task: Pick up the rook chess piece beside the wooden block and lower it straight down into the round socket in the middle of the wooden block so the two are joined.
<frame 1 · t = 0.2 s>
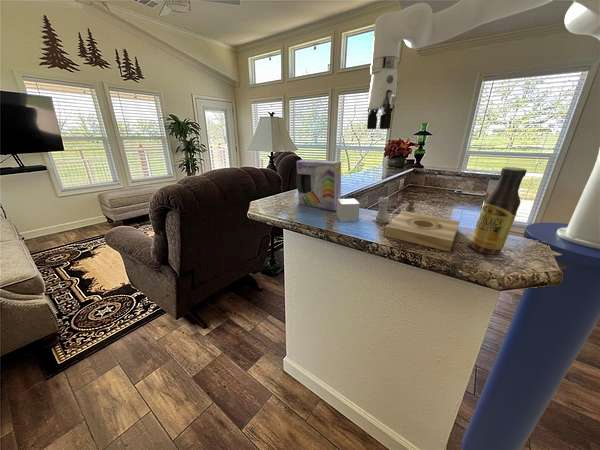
hand: (377, 129, 77), 28 cm above the countertop, tool pointing down, fingers open, 9 cm apart
wooden block: (421, 233, 68), on the countertop
sauce bottle: (485, 250, 58), on the countertop
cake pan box: (317, 206, 94), on the countertop
rook chess piece: (381, 221, 77), on the countertop
white cube: (347, 218, 80), on the countertop
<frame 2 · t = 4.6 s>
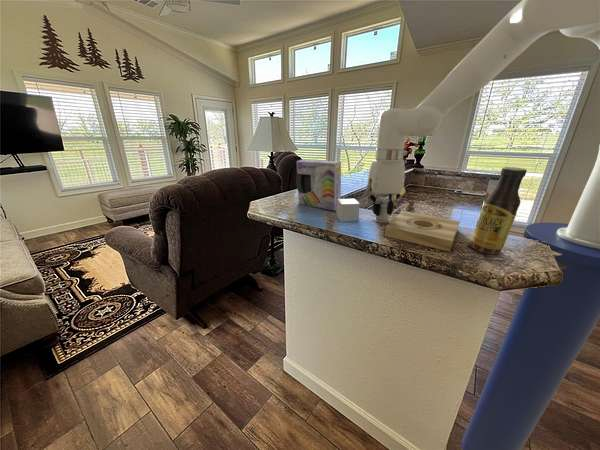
hand: (382, 213, 76), 3 cm above the countertop, tool pointing down, fingers closed on rook chess piece, 3 cm apart
rook chess piece: (381, 221, 77), on the countertop, touching gripper
everything else where it was.
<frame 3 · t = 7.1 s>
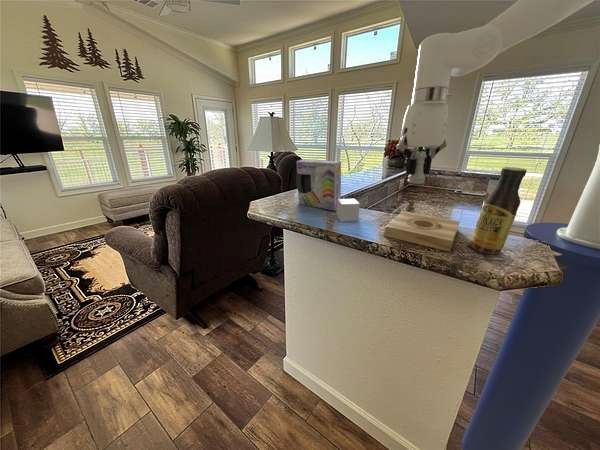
hand: (417, 172, 64), 17 cm above the countertop, tool pointing down, fingers closed on rook chess piece, 3 cm apart
rook chess piece: (415, 183, 65), point 14 cm above the countertop, touching gripper
everything else where it was.
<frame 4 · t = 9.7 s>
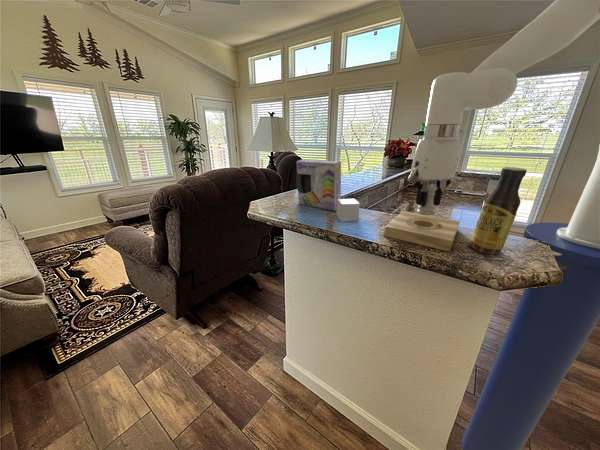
hand: (427, 203, 64), 9 cm above the countertop, tool pointing down, fingers closed on rook chess piece, 3 cm apart
rook chess piece: (425, 213, 65), point 6 cm above the countertop, touching gripper
everything else where it was.
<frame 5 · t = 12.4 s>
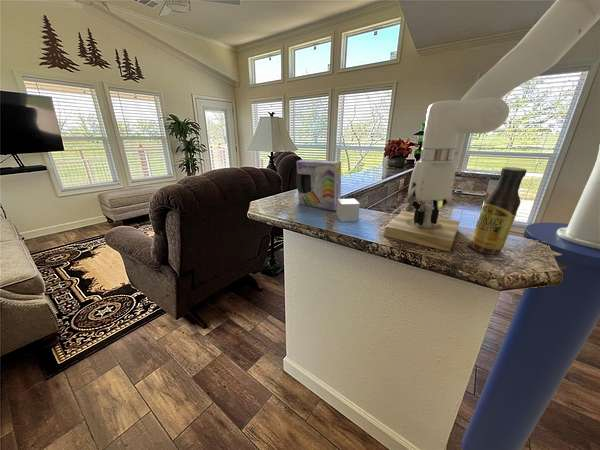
hand: (424, 222, 66), 3 cm above the countertop, tool pointing down, fingers closed on rook chess piece, 3 cm apart
rook chess piece: (422, 231, 67), point 1 cm above the countertop, touching gripper
everything else where it was.
when the fingers open (4 cm above the countertop, at t = 14.9 s): rook chess piece stays where it is, resting in wooden block.
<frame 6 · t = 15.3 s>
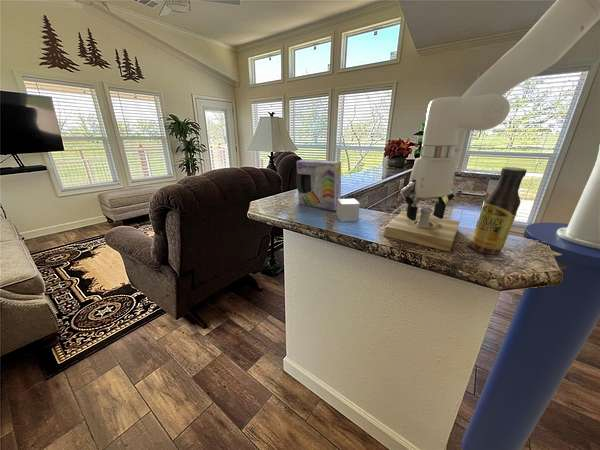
hand: (424, 217, 66), 5 cm above the countertop, tool pointing down, fingers open, 7 cm apart
rook chess piece: (421, 233, 68), resting in wooden block
everything else where it was.
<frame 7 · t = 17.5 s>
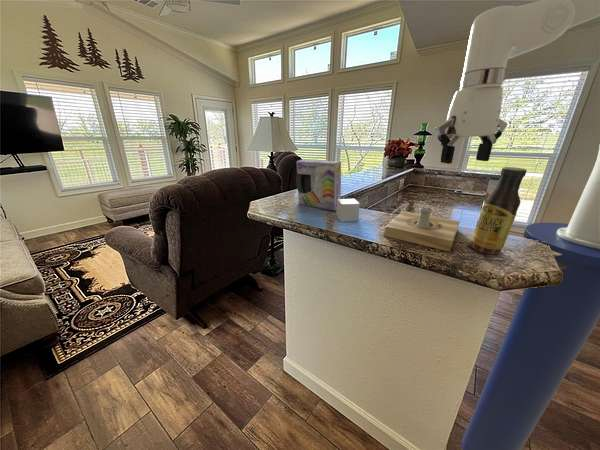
hand: (464, 161, 58), 20 cm above the countertop, tool pointing down, fingers open, 9 cm apart
nothing on the countertop moved.
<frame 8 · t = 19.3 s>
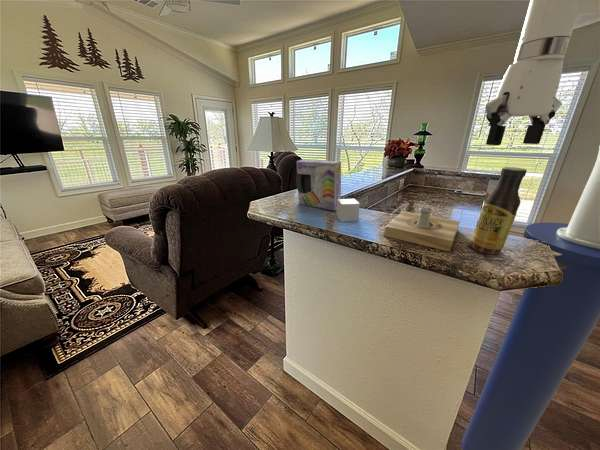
hand: (511, 144, 54), 24 cm above the countertop, tool pointing down, fingers open, 9 cm apart
nothing on the countertop moved.
at the end: rook chess piece 0.1 cm off-centre in the wooden block, point 0.0 cm above the wooden block's base; rook chess piece tilted 0°; the gripper is holding nothing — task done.
